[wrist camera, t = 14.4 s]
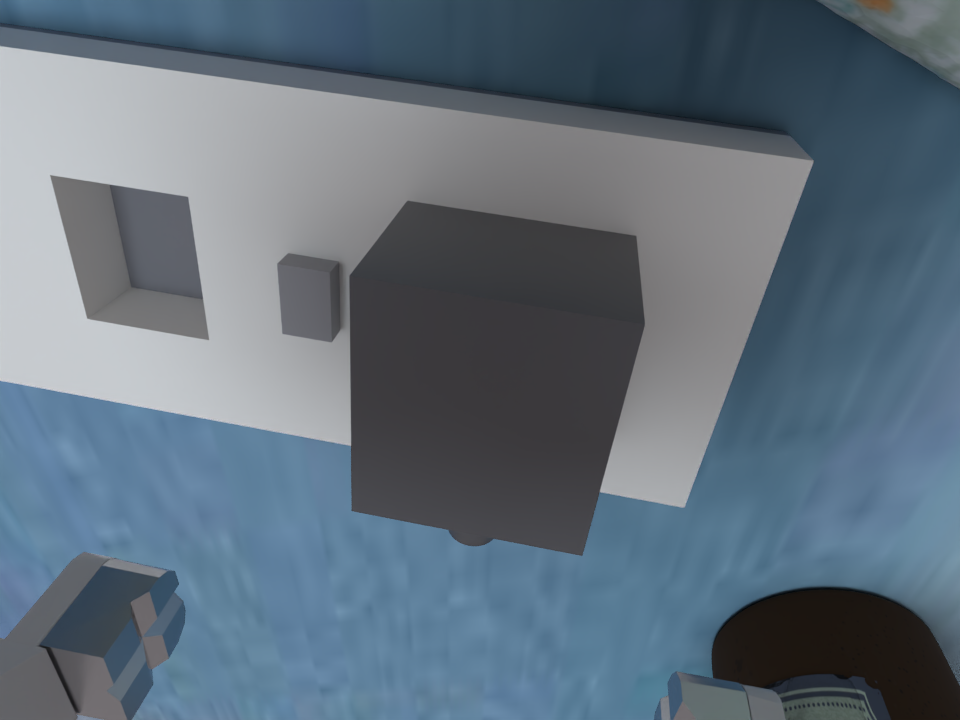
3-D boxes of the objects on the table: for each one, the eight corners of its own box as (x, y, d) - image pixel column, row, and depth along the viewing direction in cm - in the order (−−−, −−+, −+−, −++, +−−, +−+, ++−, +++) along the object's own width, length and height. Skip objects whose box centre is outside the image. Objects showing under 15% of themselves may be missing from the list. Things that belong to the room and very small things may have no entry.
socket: (-53, 15, 21) (-171, 29, 18) (786, 131, 19) (822, 170, 16) (45, 338, 27) (-28, 390, 24) (676, 452, 25) (686, 524, 22)
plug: (423, 179, 20) (349, 275, 14) (634, 210, 20) (644, 324, 14) (410, 424, 25) (352, 568, 20) (576, 454, 25) (566, 612, 19)
